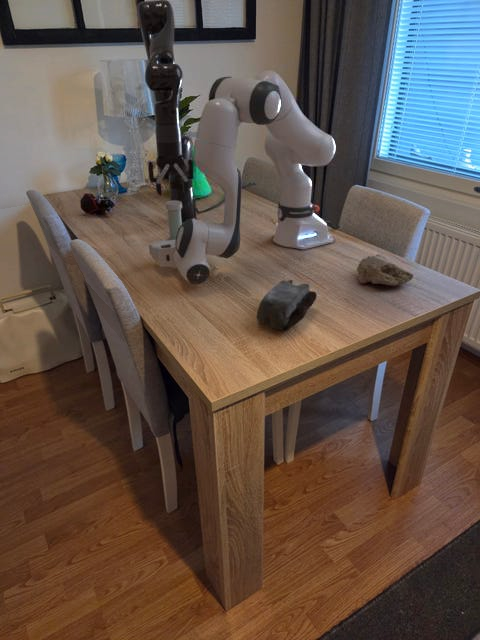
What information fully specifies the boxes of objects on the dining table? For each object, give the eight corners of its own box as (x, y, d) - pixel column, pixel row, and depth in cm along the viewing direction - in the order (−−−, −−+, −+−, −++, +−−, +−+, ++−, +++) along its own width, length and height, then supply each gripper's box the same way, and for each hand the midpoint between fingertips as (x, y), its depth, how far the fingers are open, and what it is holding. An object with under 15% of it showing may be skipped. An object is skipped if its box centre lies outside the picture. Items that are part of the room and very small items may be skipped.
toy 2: (167, 190, 223) (163, 137, 210) (207, 188, 227) (205, 135, 214) (172, 202, 206) (167, 145, 193) (214, 199, 210) (213, 143, 197)
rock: (291, 341, 110) (294, 313, 105) (251, 329, 114) (251, 302, 110) (317, 308, 123) (320, 283, 119) (280, 299, 128) (281, 274, 124)
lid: (179, 204, 148) (179, 199, 147) (183, 209, 144) (183, 204, 143) (164, 206, 146) (163, 201, 145) (167, 211, 142) (167, 206, 141)
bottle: (182, 253, 156) (178, 201, 147) (185, 257, 153) (181, 205, 143) (170, 254, 155) (165, 203, 145) (173, 259, 152) (168, 206, 142)
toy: (107, 186, 182) (78, 185, 188) (99, 205, 180) (70, 204, 185) (122, 203, 193) (95, 201, 198) (115, 222, 190) (87, 220, 196)
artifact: (374, 296, 130) (415, 290, 135) (381, 274, 126) (423, 268, 131) (341, 267, 144) (380, 262, 149) (346, 246, 140) (385, 242, 145)
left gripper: (189, 136, 139) (192, 189, 147) (143, 138, 135) (148, 192, 144) (194, 140, 133) (197, 195, 141) (146, 142, 129) (151, 199, 138)
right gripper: (216, 240, 142) (204, 226, 153) (152, 248, 136) (145, 233, 147) (217, 258, 145) (205, 243, 156) (154, 267, 139) (147, 251, 150)
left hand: (172, 193), depth 142 cm, fingers open, 7 cm apart
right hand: (175, 238), depth 151 cm, fingers closed on bottle, 4 cm apart
